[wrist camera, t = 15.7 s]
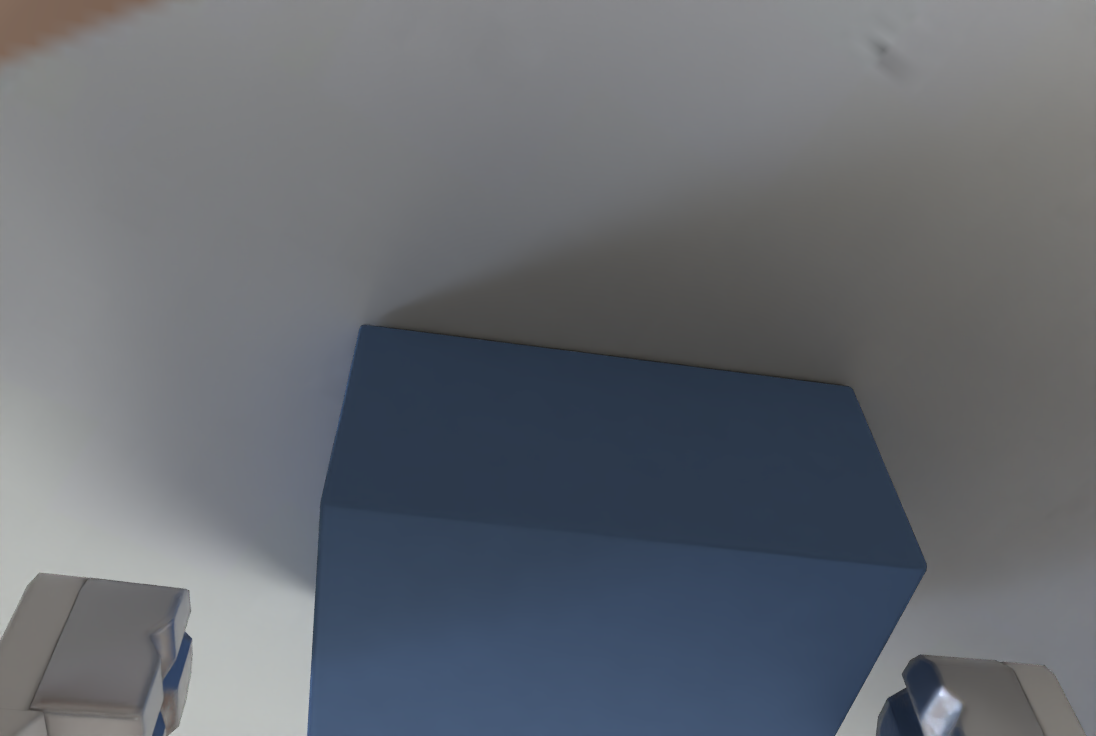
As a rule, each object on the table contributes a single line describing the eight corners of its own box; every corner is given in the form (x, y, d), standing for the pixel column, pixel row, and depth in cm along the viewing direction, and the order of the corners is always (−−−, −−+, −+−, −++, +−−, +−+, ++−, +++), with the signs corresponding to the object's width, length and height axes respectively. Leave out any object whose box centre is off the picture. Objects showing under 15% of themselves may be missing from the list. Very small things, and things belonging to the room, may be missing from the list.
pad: (854, 385, 13) (931, 567, 10) (741, 646, 16) (781, 838, 13) (359, 322, 12) (320, 501, 10) (338, 608, 15) (303, 802, 13)
